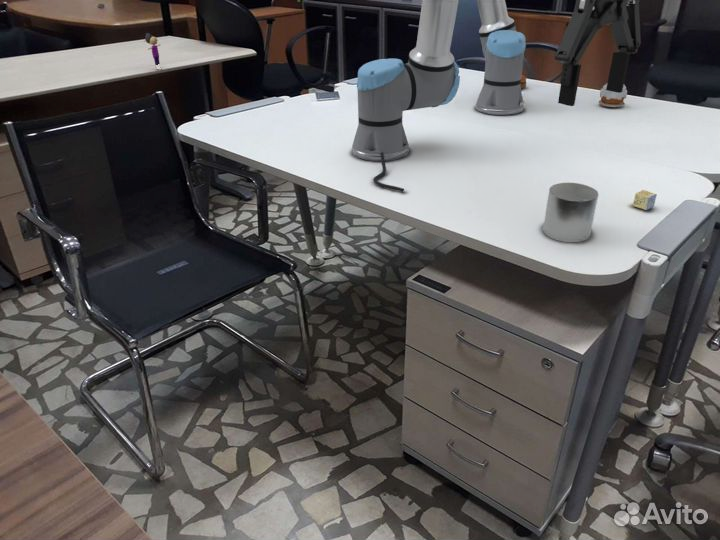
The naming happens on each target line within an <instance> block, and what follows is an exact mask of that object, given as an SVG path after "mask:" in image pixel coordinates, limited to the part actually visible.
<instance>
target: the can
mask: <svg viewBox="0 0 720 540" xmlns="http://www.w3.org/2000/svg"><path fill="white" fill-rule="evenodd" d="M598 199H599V191H598V190H596V189H595V188H593V187H591V186H589V185H586V184H582V183H577V182H559V183H555V184H552V185H551V186H550V187H549V190H548V195H547V203H546V208H545V216H544V221H543V228H542V231H543V233H544V235H545V236H547V237H549V238H550V239H552V240H556V241H559V242H563V243H580V242H584V241H586V240H588V239H589V238H590V237H591V232H592V227H593V222H594V218H595V213H596V208H597V204H598Z"/></svg>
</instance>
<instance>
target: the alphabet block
mask: <svg viewBox="0 0 720 540" xmlns="http://www.w3.org/2000/svg"><path fill="white" fill-rule="evenodd" d="M657 195H658V194H657V193H655V192H651V191H648V190H645V189H642V190H640V191H637V192H636V193H635V194H634V198H633V203H632V206H633V207H635V208H638V209H640V210H641V209H642V210H644V211H648V210H650V209H652V208H654V207H655V203H656V199H657Z"/></svg>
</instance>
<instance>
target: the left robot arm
mask: <svg viewBox="0 0 720 540" xmlns="http://www.w3.org/2000/svg"><path fill="white" fill-rule="evenodd" d="M458 6H459V0H422V1H421V8H420V16H419V22H418V23H419V24H418V31H417V38H416V39H417V40H416V45H415V46H414V48H413V49H411V50H410V51H409V54H408V61H407V63H404V62H403V60H402V59H400V58H393V57H390V58H381V59H375V60H372V61H369V62H366V63H364V64H362V66H360V67H359V68H358V71H357V81H356V82H357V83H356V89H357V111H358V113H357V115H358V118H357V119H358V125H357V128H356V131H355V135H354V138H353V141H352V144H351V147H352V155H353V156H354V157H356V158H358V159H360V160H364V161H371V162H381V167H382V171H381V173H379V174H377V175H375V176H374V177H373V179H372V180H373V183H374V184H375V185H377V186H379V187H381V188H384V189H387V190H394V191H397V192H402V193H404V192H405V189H404V188H403V187H399V186H395V185H391V184H387V183H383V182H380V181H379V180H378V179H380V178H382V177H383V176H385V174H386V172H387V167H386V162H389V161H394V160H398V159H399V160H400V159H401V158H404V157H406V156H407V155H409V151H410V150H409V149H410V145H409V141H408V137H407V134H406V132H405V128H404V125H403V124H404V123H403V112H405V111H412V110H419V109H420V110H421V109H427V108H438V107H440V106H445V105H447V104H449V103H451V101H453V100H454V98H455V97H456V95H457V93H458V90H459V88H460V81H461V75H459V73H460V68H459V66H458V63H457V62H456V61H455V56H454V55H453V54H452V52H451V46H452V40H453V36H454V35H453V33H454V30H455V24H456V23H455V22H456V19H457V18H456V17H457V12H458ZM640 22H641V19H640V0H575V4H574V9H573V13H572V15H571V18H570V19H569V22H568V24H567V27H566V29H565V30H564V34H563V36H562V39H561V41H560V43H559V45H558V48H557V49H556V52H555V55H554V60H555V61H556V62H558V64H559V63H560V64H562V69H561V76H560V86H559V93H558V101H557V104H561V105H564V106H569V107H575V103H576V97H577V92H578V85H579V81H580V74H581V69H582V64H579V62H580V60H581V59H582V57H583V55H584V54H585V53H586V51H587V49H588V47H589V46H590V44H591V42H592V40H593V39H594V37H595V36H596V34H597V32H598V31H599V30H601V29H603V27H604V26H607V25H609V27H610V31H611V34H612V38H613V40H614V44H615V47H616V50H617V51H613V53H612V58H611V63H610V66H609V67H610V68H609V73H608V77H607V83H606V84H607V88H606V90H608V91H613V92H618V93H621V92H622V90H623V85H625V80H626V75H627V72H628V71H627V70H628V66H629V62H630V61H629V60H630V55H631V54H637V53H638V50H639V48H640V46H641V44H642V39H641V37H642V36H641V23H640Z"/></svg>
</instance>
